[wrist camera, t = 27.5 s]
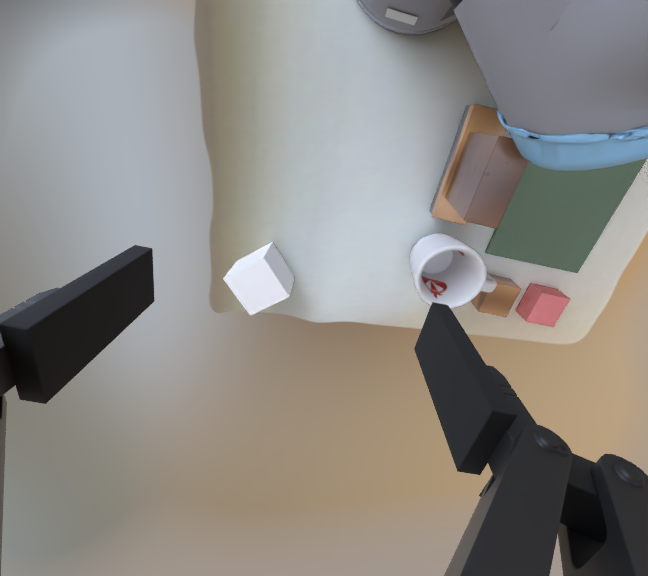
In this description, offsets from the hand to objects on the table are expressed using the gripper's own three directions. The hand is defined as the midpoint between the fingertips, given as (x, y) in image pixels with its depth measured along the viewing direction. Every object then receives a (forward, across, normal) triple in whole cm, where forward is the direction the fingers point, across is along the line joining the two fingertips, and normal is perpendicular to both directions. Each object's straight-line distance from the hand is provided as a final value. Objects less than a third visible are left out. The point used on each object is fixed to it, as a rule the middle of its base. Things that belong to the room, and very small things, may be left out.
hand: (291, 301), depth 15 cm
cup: (+29, +18, -5) cm, 34 cm away
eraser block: (+29, +33, -8) cm, 45 cm away
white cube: (+29, -6, -12) cm, 32 cm away
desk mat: (+29, +30, +6) cm, 42 cm away
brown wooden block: (+29, +16, +7) cm, 34 cm away
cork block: (+29, +26, -8) cm, 40 cm away
